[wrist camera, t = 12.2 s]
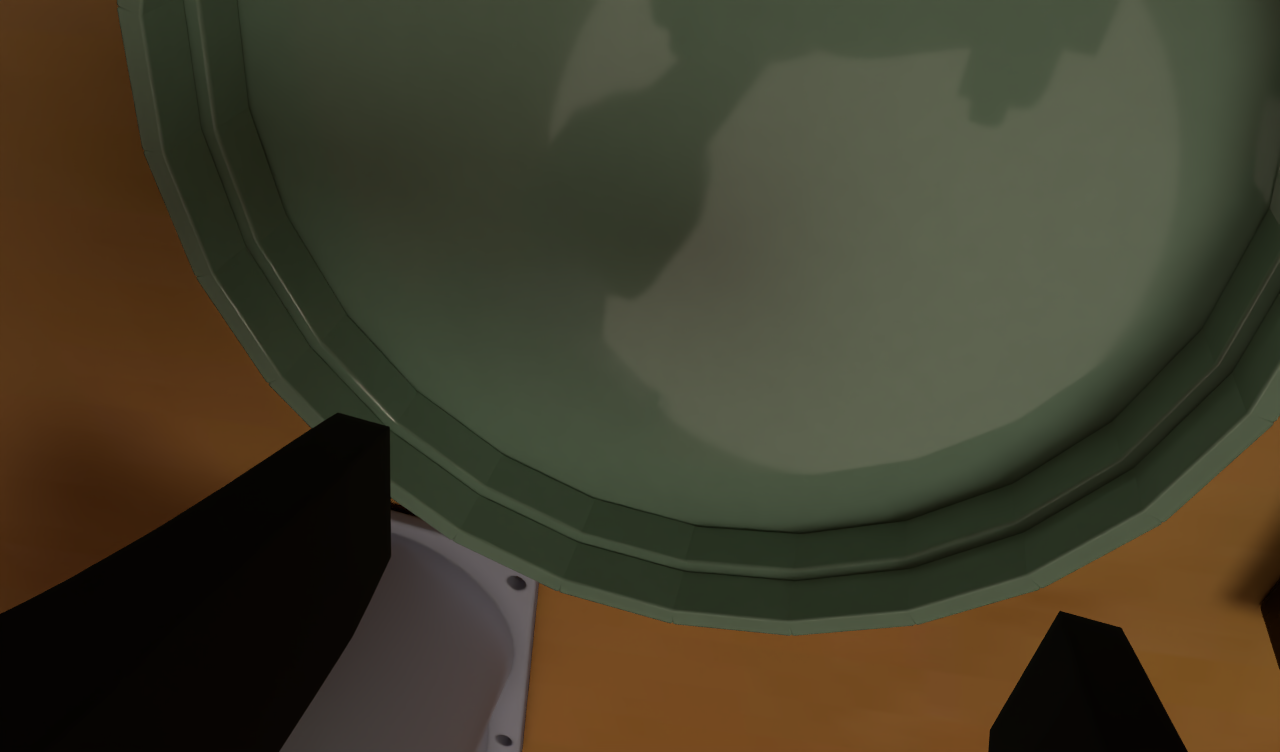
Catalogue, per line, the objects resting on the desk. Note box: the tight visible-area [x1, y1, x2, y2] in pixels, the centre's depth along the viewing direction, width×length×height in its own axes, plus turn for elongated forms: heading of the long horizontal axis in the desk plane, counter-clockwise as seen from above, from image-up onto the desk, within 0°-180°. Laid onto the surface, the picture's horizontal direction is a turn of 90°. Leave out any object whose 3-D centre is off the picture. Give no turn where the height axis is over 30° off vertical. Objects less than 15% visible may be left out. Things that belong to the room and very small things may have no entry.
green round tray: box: [117, 0, 1280, 636], centre depth 17 cm, size 19×19×4 cm
